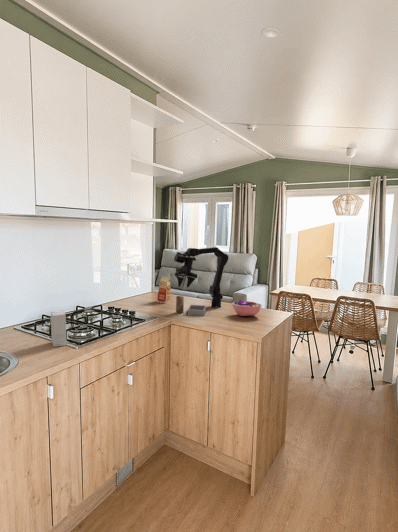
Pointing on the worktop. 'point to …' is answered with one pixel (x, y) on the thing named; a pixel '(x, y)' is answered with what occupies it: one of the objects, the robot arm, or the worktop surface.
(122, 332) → the worktop surface
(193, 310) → the box
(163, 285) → the milk carton
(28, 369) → the worktop surface
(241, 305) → the cell model
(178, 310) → the walnut cylinder
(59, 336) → the skincare box
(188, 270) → the robot arm
